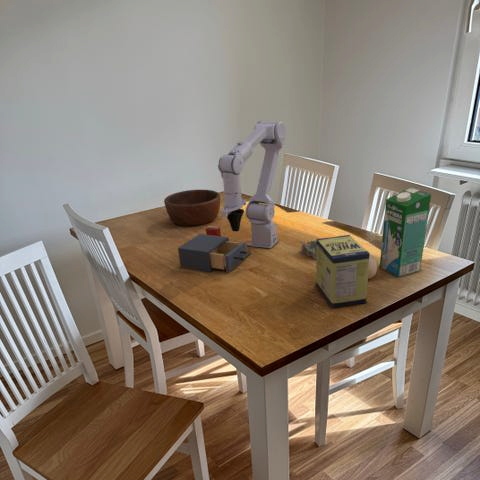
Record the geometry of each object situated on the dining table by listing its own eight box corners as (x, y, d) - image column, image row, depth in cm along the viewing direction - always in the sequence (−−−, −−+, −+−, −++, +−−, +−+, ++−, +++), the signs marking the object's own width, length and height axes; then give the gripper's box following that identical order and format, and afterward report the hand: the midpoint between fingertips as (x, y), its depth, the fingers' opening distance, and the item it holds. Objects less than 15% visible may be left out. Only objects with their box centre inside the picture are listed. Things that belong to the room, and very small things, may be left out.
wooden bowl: (175, 211, 220) (172, 190, 214) (226, 210, 216) (224, 188, 211) (160, 229, 199) (156, 206, 193) (216, 228, 195) (214, 204, 190)
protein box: (346, 280, 144) (349, 233, 136) (366, 303, 130) (370, 253, 122) (315, 285, 143) (315, 238, 135) (332, 308, 129) (333, 258, 121)
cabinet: (230, 256, 167) (228, 237, 164) (210, 272, 157) (208, 252, 153) (201, 252, 173) (199, 233, 169) (180, 267, 162) (177, 247, 158)
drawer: (256, 258, 162) (255, 243, 159) (239, 273, 152) (238, 257, 149) (219, 253, 168) (217, 238, 165) (200, 267, 158) (198, 252, 156)
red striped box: (221, 244, 178) (219, 226, 174) (217, 247, 176) (215, 228, 172) (211, 243, 180) (209, 225, 176) (207, 245, 178) (205, 227, 174)
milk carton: (379, 267, 150) (386, 191, 137) (401, 261, 153) (410, 186, 140) (397, 277, 143) (407, 198, 130) (420, 270, 146) (431, 193, 133)
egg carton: (298, 251, 167) (298, 240, 165) (315, 246, 169) (315, 236, 167) (315, 260, 158) (315, 249, 156) (332, 255, 161) (333, 244, 159)
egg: (369, 273, 147) (371, 250, 143) (379, 279, 143) (382, 256, 138) (355, 276, 146) (356, 253, 142) (364, 283, 141) (366, 260, 137)
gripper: (232, 185, 160) (235, 222, 167) (211, 197, 150) (215, 236, 156) (250, 187, 157) (252, 224, 164) (230, 198, 146) (233, 238, 153)
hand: (235, 230), depth 160 cm, fingers closed
